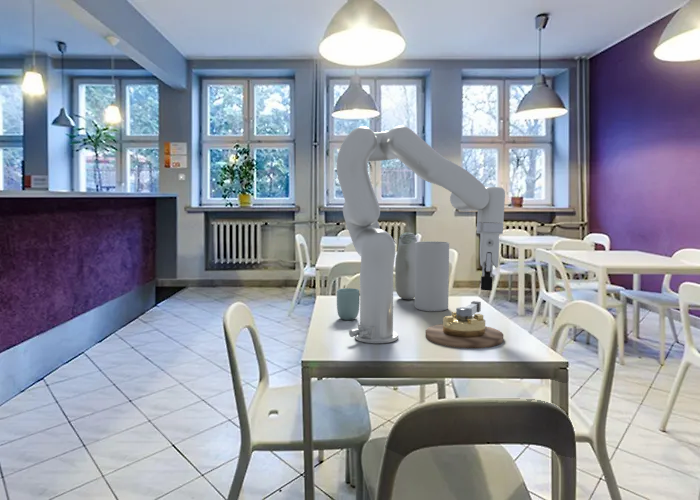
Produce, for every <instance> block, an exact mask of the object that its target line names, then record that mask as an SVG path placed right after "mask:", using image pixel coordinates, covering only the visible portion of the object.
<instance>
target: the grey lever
mask: <svg viewBox="0 0 700 500" xmlns="http://www.w3.org/2000/svg"><path fill="white" fill-rule="evenodd" d="M481 306H482V305H481V301H478V300H477V301H475V300H473V301H470V304H468V305H467V306H465V307H464V306H463V307H456V311H451V315H445V316H444V317H442V324H443V332H445V333H447V334H450V335H454V336H462V337H475V336H481V335H484V334H485V326H486V320H485V319H484V315H483V314H481V313H480V312H481V309H482V307H481Z"/></svg>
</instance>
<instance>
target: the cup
mask: <svg viewBox="0 0 700 500" xmlns="http://www.w3.org/2000/svg"><path fill="white" fill-rule="evenodd" d="M336 311H337V312H336V313H337V315H338V317H339V319H341V320H343V321H352V320H355V319H357V318H358V316H359V314H360V288H354V287H353V288H352V287H349V288H348V287H347V288H338V289H337V290H336Z"/></svg>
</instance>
